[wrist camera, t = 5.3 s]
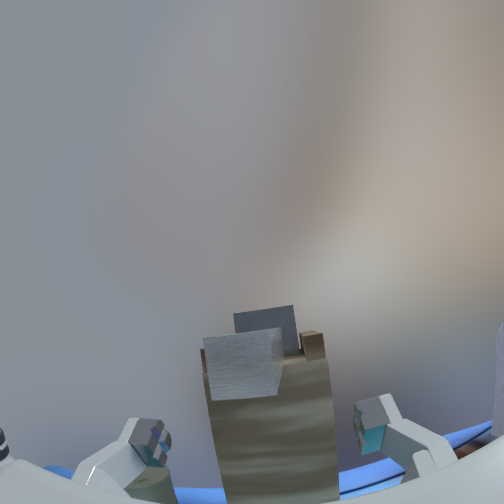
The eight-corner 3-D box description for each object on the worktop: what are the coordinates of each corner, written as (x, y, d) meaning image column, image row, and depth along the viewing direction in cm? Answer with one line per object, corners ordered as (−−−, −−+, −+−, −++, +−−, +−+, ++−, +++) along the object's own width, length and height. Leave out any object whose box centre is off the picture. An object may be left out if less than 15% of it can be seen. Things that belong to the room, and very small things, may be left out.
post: (340, 561, 14) (323, 333, 21) (245, 568, 15) (199, 349, 22) (330, 509, 26) (312, 330, 33) (258, 516, 27) (229, 342, 34)
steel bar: (311, 390, 11) (295, 280, 13) (181, 401, 12) (168, 299, 13) (298, 349, 33) (292, 308, 34) (248, 356, 33) (242, 315, 34)
